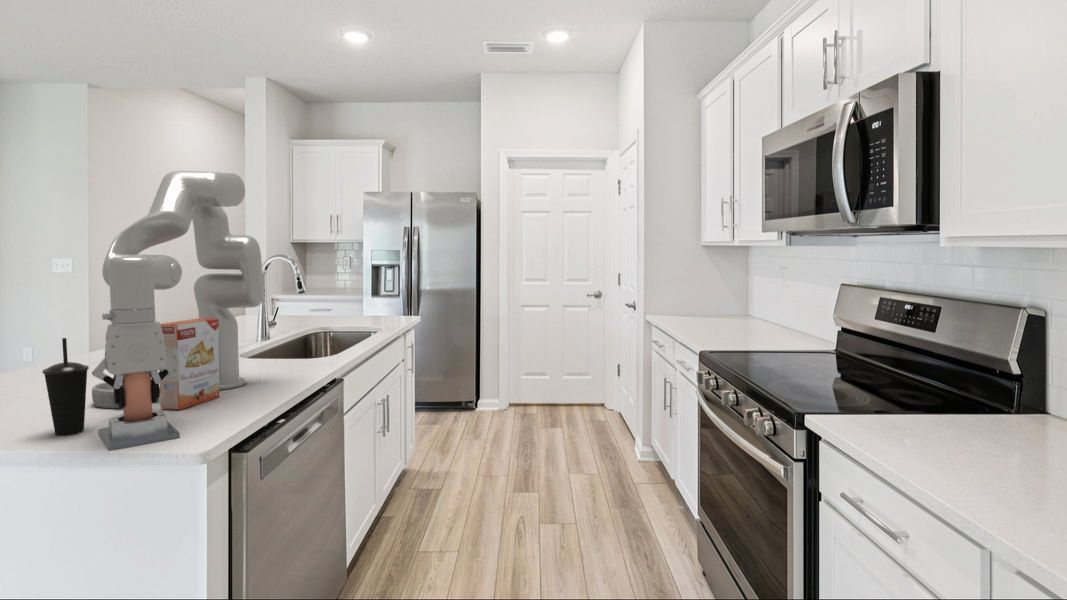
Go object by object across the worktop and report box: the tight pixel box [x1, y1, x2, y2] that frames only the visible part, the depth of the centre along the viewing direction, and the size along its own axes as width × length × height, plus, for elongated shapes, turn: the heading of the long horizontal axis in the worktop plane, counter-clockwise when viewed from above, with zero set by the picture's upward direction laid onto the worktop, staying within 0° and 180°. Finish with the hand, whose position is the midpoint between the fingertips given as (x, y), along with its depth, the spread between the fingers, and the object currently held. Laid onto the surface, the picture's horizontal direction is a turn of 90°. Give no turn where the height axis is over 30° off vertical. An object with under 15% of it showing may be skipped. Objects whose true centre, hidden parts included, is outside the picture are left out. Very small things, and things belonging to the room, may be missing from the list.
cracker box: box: [158, 317, 221, 411], centre depth 151 cm, size 14×6×21 cm, turn 168°
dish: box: [91, 379, 160, 409], centre depth 151 cm, size 14×14×5 cm
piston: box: [121, 372, 153, 422], centre depth 125 cm, size 5×5×13 cm
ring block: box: [97, 410, 181, 451], centre depth 125 cm, size 14×12×4 cm
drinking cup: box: [42, 337, 90, 437], centre depth 126 cm, size 8×8×20 cm
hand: (137, 403), depth 125 cm, fingers closed on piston, 5 cm apart
